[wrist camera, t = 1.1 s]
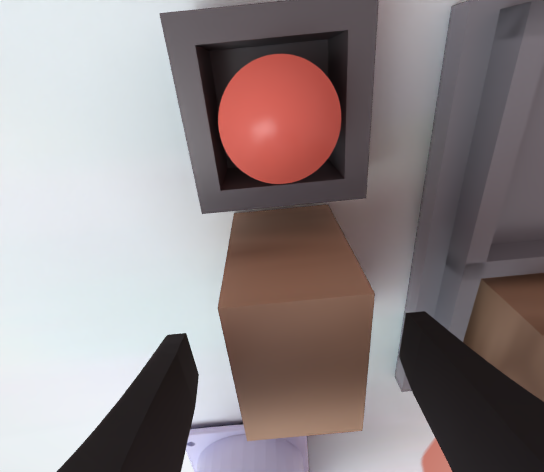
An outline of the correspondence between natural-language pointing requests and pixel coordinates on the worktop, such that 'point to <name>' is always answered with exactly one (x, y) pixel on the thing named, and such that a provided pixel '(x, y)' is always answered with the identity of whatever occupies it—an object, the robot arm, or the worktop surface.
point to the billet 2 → (511, 328)
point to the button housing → (257, 43)
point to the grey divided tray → (482, 163)
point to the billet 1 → (296, 323)
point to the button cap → (279, 118)
